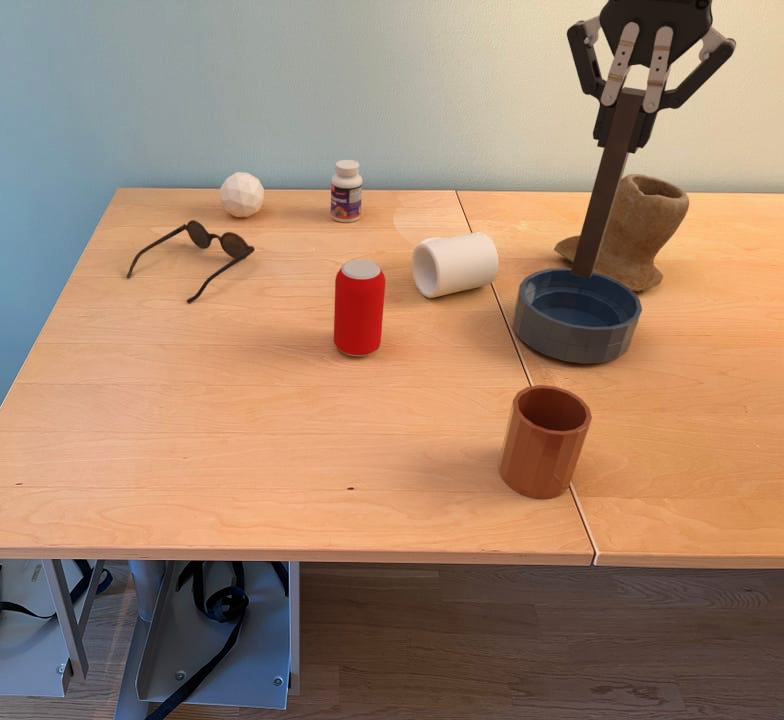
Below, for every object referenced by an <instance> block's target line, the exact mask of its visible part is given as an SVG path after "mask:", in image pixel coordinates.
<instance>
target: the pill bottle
mask: <svg viewBox="0 0 784 720" xmlns="http://www.w3.org/2000/svg"><path fill="white" fill-rule="evenodd" d="M334 171H335V174H333V175H332V177H331V182H330V217H331V218H332V220H334V221H336V222H341V223H353V222H356V221H358V220H359V219H360V218H361V214H362V200H363V199H362V198H363V197H362V196H363V195H362V194H363V177H362V176H361V174H359V173H360V164H359V162H358V161H356V160H353V159H341V160H338V161H336V163H335V170H334Z"/></svg>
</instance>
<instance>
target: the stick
mask: <svg viewBox="0 0 784 720" xmlns="http://www.w3.org/2000/svg"><path fill="white" fill-rule="evenodd" d="M645 94H646V89H639V88H634V87H628V86H623V89H622V90H621V91H620V93H619V95H618V99H617V103H616V106H615V112H614V116H613V119H612V123H611V127H610V130H609V134H608V137H607V141H606V145H605V147H604V148H603V151H602V155H601V158H600V162H599V165H598V169H597V172H596V176H595V180H594V184H593V187H592V191H591V195H590V199H589V202H588V205H587V210H586V213H585V216H584V220H583V224H582V226H581V227H582V228H581V232H580V238H579V242H578V246H577V249H576V253H575V257H574V260H573V262H572V263H571V264H572V265H571V271H570V274H574V275H577V276H581V277H585V278H589V279H590V278H591V276H592V274H593V272H594V270H595V267H596V264H597V260H598V257H599V253H600V250H601V247H602V243H603V240H604V237H605V233H606V230H607V226H608V223H609V220H610V216H611V213H612V210H613V206H614V203H615V199H616V196H617V193H618V189H619V186H620V183H621V179H623V175H624V173H625V169H626V166H627V162H628V158H629V155H630V153H628V152H627V149H628V145H629V142H630V138H631V135H632V132H633V128H634V125H635V121H636V118H637V114H638V112H639V111H640V110H641V108H642V107H643V104H644V99H645Z"/></svg>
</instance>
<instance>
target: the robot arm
mask: <svg viewBox="0 0 784 720" xmlns="http://www.w3.org/2000/svg"><path fill="white" fill-rule="evenodd" d="M713 1H714V0H607V2H606V3H605V4H604V6H603V7H602V8H601V10H600V11H599V15H596V16H593V17H591V18H589V19H587V20H577V22H575V23H574V24H573V25H571V26H570V27H569V28H568V29H567V31H566V38H567V41H568V46H569V49H570V52H571V56H572V59H573V62H574V66H575V70H576V73H577V77H578V80H579V84H580V88H581V91H582V93H583V94H584V95H586V96H591V97H593V98H595V99H596V100H597V101H598V103H599V107H598V111H597V115H596V120H595V123H594V127H593V130H592V138H593V140H595V141H597V144H596V147H597V148H603V149H604V147H605V145H606V141H607V137H608V134H609V130H610V127H611V123H612V119H613V116H614V112H615V106H616V103H617V99H618V95H619V93H620V91H621V90H622V89H623V88H624V87H625V83H626V81H627V78H628V75H629V73H630V71H631V68H632V66H639V65H640V66H643V67H645V68H647V69H649V71H648V76H647V81H646V89H645V90H646V94H645V99H644V104H643V107H642V108H641V110H640V111H639V112H638V114H637V118H636V121H635V125H634V128H633V132H632V135H631V138H630V142H629V145H628V149H627V152H628V153H629V154H634V155H635V154H636V153H637V152H638V149H644V147H645V146H647V144H648V142H649V140H650V139H651V135H652V132H653V130H654V126H655V123H656V120H657V116H658V114H659V112H660V111H663V110H666V109H667V110H668V109H672V110H677V109H680V108H682V106H683V105H684V104H685V103H686V102H687V101H689V99H691V97H692V96H694V94H695V93H696V92H697V91H698V90H699V89H700V88H701V87H702V86H704V84H705V83H707V81H708V80H709V79H711V78H712V76H713V75H715V73H717V71H718V70H719V69H720V68H722V67H723V65H725V64H726V63H727V62H728V60H730V58H731V57H732V56H733V54H734V53H735V51H736V48H737V42H736V40H735V39H734V38H732V37H725V36H724V35H723V34H722V33H721V32H719V30H717V29H715V27H713V22H714V17H713V12H712V4H713ZM600 29H601V30H602V32H603V34H604V37H605V40H606V42H607V44H608V47H609V49H610V51H611V54H612V56H613V60H612V63H611V65H610V68H609V71H608V73H607V80H606V79H603V76H602V71H601V68H600V65H599V61H598V58H597V54H596V49H595V46H594V45H595V44H596V43H597V42H598V40H599V38H600V37H599V32H600ZM700 41H702V48H701V49H700V51H699V52H698V59H699V61H700V63H699V64H698V65H697V66H696V67H695V68H694V69H693V70H692V71H691V72H690V73H689V75H688V76H686V77H685V78H684V79H683V80H682V81H681V82H680V83H679V85H677V86H676V88H672V89H671V88H670V89H667V83H668V79H669V76H670V73H671V72H670V71H671V68H672V65H673V64H674V63H675V62H676V61H677V60H679V59H680V58H681V57H682V56H683V55H684V54H686V53H687V52H688V51H689V50H690V49H691V48H692V47H694V46H695V45H696V44H697V43H698V42H700Z"/></svg>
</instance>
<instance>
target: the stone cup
mask: <svg viewBox="0 0 784 720" xmlns="http://www.w3.org/2000/svg"><path fill="white" fill-rule="evenodd" d="M689 207H690V198H689V196H688V194H687V193H686V191H684V189H682V188H681V187H679V186H678V185H675V184H673V183H671V182H669V181H666V180H664V179H661V178H657V177H654V176H649V175H645V174H640V173H630V174H627V175H625V176H624V177H622V179H621V183H620V186H619V189H618V193H617V196H616V199H615V203H614V206H613V210H612V213H611V216H610V220H609V223H608V226H607V230H606V233H605V237H604V240H603V243H602V247H601V250H600V253H599V257H598V260H597V264H596V267H595V270H594V273H598V274H602V275H605V276H607V277H609V278H612V279H614V280H616V281H619V282H620V283H622V284H623V285H625V286H626V287H628V288H629V289H631V290H632V291H633V292H641V291H642V292H643V291H647V290H650V289H653V288H655V287H657V286H659V285H660V284H661V283H662V281H663V279H664V274H662V272H661V271H660V270H659V269H658V268H657V267H656V266H655V264H654V262H655V258H656V256H657V255H658V253H660V250H661V249H662V248H663V247H664V246H665V245H666V244H667V243H668V242H669V241H670V240H671V238H672V237H673V235H675V233H676V232H677V231H678V229H679V227H680V225H681V224H682V223H683V221H684V219H685V217H686V216H687V213H688V211H689ZM580 235H581V234H580ZM580 235H572V236H570V237H566V238H564V239H562V240H561V241H558V242H557V243H556V244H555V246H554V248H553V250H554V252H556V253H557V254H559V255H560V256H562V257H563V258H565V259H567V260H568V261H569V262H571V263H573V260H574V257H575V253H576V249H577V246H578V242H579V238H580Z"/></svg>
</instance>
